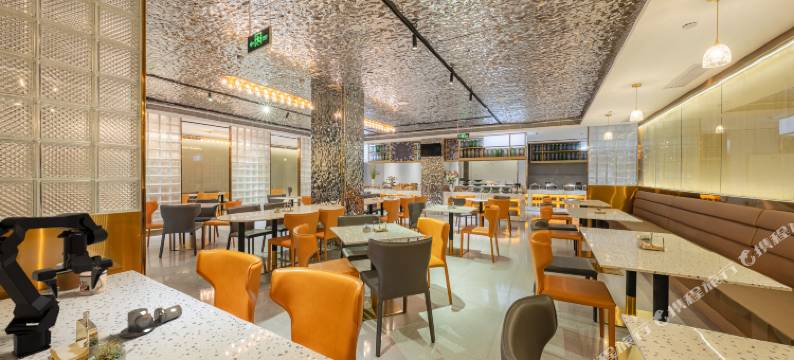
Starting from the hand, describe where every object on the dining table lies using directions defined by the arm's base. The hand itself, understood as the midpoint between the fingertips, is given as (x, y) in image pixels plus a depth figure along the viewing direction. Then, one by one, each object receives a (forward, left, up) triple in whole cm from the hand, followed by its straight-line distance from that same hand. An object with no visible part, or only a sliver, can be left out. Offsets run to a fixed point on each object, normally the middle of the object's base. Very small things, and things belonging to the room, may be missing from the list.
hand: (75, 293), depth 105 cm
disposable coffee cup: (+15, +53, -12) cm, 56 cm away
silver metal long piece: (+12, -23, -12) cm, 29 cm away
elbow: (+8, -25, -11) cm, 28 cm away
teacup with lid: (+18, +36, -12) cm, 42 cm away
